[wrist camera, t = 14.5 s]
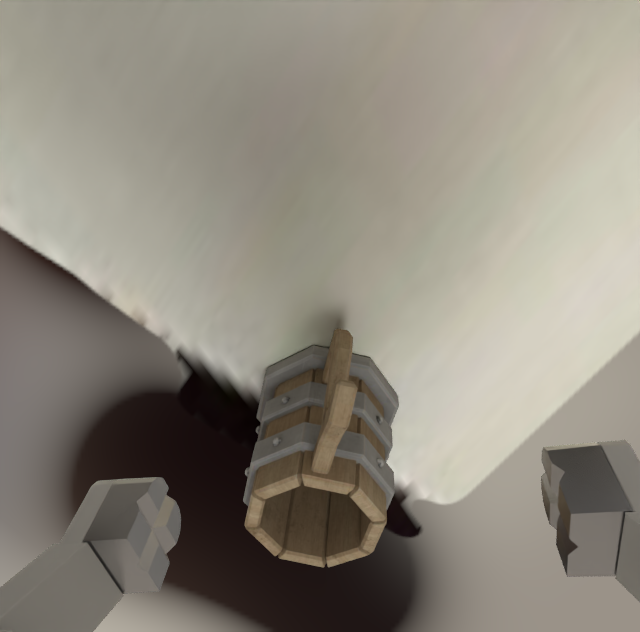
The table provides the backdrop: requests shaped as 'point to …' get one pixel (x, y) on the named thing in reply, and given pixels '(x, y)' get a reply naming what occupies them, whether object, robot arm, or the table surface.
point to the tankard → (322, 456)
